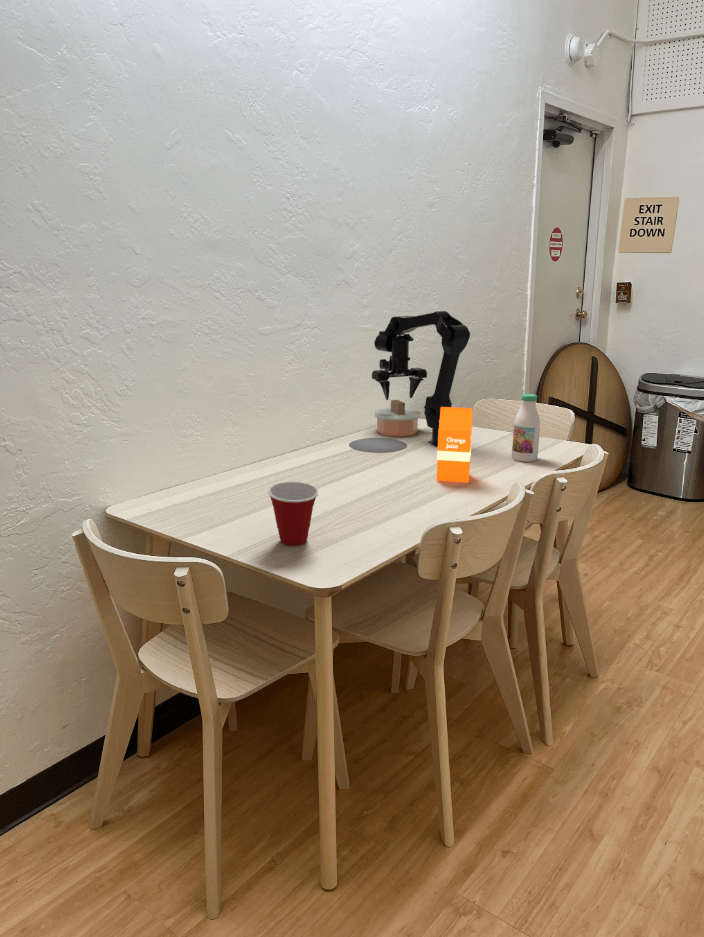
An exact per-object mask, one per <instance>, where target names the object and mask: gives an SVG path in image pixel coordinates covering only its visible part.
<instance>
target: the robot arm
mask: <svg viewBox="0 0 704 937" xmlns="http://www.w3.org/2000/svg"><path fill="white" fill-rule="evenodd" d="M429 326H435V329H436V333H437V334H438V335H439V336H440V337H441V342H440V343H441V346H442V350H443V353H442V354H443V355H442V357H441V358H442V359H441V362H440V363H441V364H440V367H439V372H438V376H437V381H436V384H435V388H434V392H433V394H432V395H430V396H426V398H425V404H424V406H423V409H424V416H425V421H426V425H427V427H428V428H430V429H432V430H431V431H432V432H431V440H427V444H428V443H429V444H430V445H432V446H434V447H436V448H438V431H439V422H440V411H441V407H453V406H452V405H453V404H452V399H451V398H450V395H451V391H452V387H453V383H454V378H455V374H456V370H457V366H458V363H459V362H458V361H459V358H460V355H461V354H462V352H463V351H464V349H465V348H466V347H467V345H468V342H469V340H470V337H471V332H470V330H469V328H468V326H466V325H464V323H462V322H461V321H460V320H458V319H457V318H455V317H454V316H452V315H451V314H450V313H449V312H447V311H446V310H436V311H434V312H431V313H425V314H419V315H401V316H400V315H399V316H392V317H391V318H390V320H389V323H388V325H387V327H386V328H385V330H381V331H380V330H379V332H378V334H377V336H376V337H375V340H374V341H373V342H374V343H373V345H374V348H375V349H376V350H378V351H382V352H387V353H391V355H390V356H389V359H388V360H387V359H386V358H382V359H379V361H378V362H379V369H375V370H373V371H372V372H371V379H372V380H375V381H376V382H377V383H379V384H380V386H381V389H382V391H383V395H384V398H385V400H386V401H389V398H390V386H391V385H390V384H391V382H390V380H389V379H390V378H401V377H403V378H404V377H408V379H409V380H408V381H409V393H408V394H409V399H413V397H414V395H415V393H416V390H417V388H418V387H419V385H420V384H421V382H423V381H424V379H427V378H428V372H427V370H426V369H425V368H422V367H411V368H410V369H409V361H411V357H410V356H409V355H410V354H409V353H410V352H409V351H410V350H409V347H410V342H413V341H414V338H413V337H412V336H411V334H410V333H411V332H413V331H416V329H418V328H424V327H429Z"/></svg>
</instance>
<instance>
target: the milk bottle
mask: <svg viewBox="0 0 704 937" xmlns="http://www.w3.org/2000/svg"><path fill="white" fill-rule="evenodd" d="M537 400H538V394H534V393H522V394H521V396H520V402H521V404H520V405H521V406H520V408H519V410H518V412H517V413H516V416H515V418H514V424H513V432H512V435H513V436H512V445H511V446H512V447H511V459H513V460H514V461H517V462H524V463H531V462H536V461H537V460H538V455H539V445H540V444H539V442H540V432H541V420H540V416H539V413H538V410H537V406H536V405H537V403H538V402H537Z"/></svg>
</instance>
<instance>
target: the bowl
mask: <svg viewBox="0 0 704 937" xmlns="http://www.w3.org/2000/svg"><path fill="white" fill-rule="evenodd" d="M376 419H377V420H376V422H377V423H376V428H377V430H376V432H377V433H379V434H381V435H383V436H386V437H387V436H388V437H390V436H391V437H398V438H400V437H408V436H409V437H410V436H414V435H415V434H416V433H418V424H419V423H418V421H419V418H418V419H415V420H408V421H391V420H383V419H379V418H377V417H376Z"/></svg>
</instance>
